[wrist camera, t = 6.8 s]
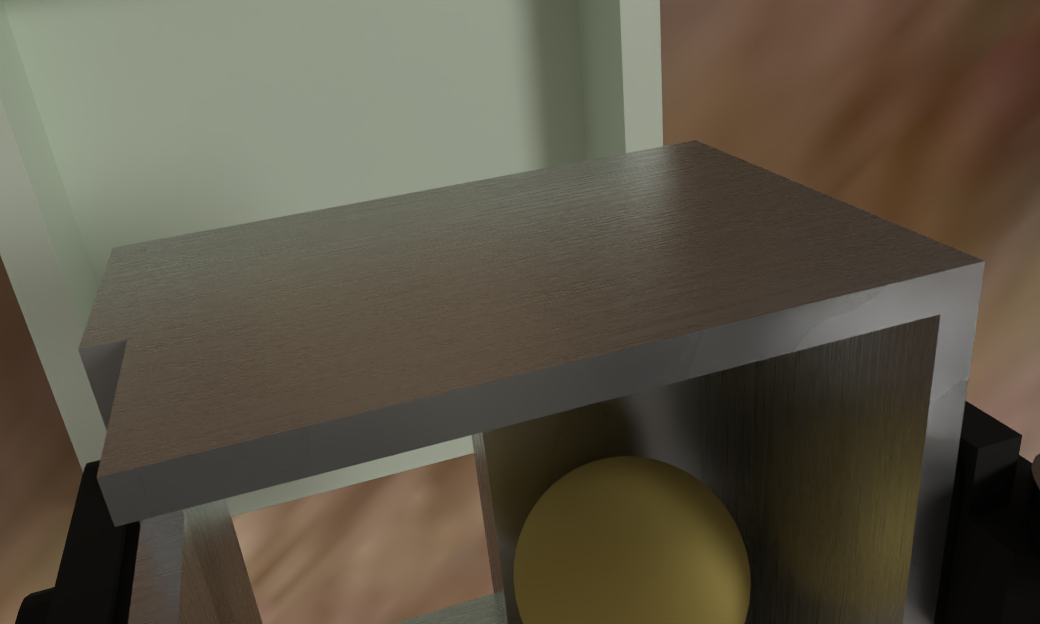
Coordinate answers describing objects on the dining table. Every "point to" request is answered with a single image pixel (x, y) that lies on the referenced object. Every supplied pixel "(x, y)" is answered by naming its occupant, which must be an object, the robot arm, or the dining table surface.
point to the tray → (282, 134)
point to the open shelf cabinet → (551, 371)
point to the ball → (631, 550)
